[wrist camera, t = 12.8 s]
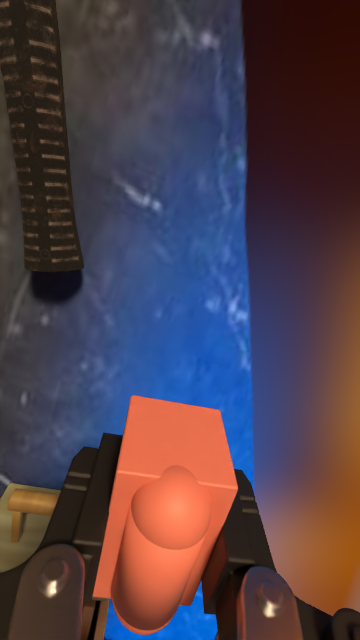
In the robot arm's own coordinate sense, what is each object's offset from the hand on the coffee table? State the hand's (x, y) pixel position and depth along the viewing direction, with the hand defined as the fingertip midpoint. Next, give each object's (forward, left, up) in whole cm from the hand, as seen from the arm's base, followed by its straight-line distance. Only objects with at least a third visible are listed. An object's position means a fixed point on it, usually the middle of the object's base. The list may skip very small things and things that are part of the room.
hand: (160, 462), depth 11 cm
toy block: (0, 0, 0) cm, 0 cm away
